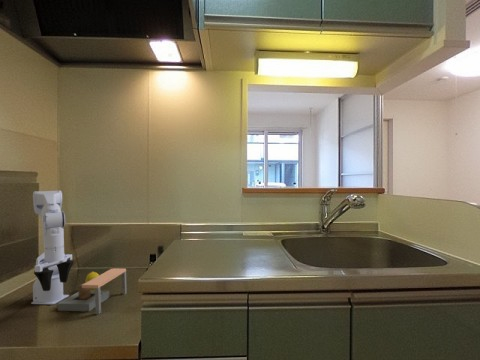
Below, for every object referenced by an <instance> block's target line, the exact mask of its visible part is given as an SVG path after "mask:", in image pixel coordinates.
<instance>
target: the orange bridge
mask: <svg viewBox="0 0 480 360" xmlns="http://www.w3.org/2000/svg"><path fill="white" fill-rule="evenodd" d="M119 276H121V293H122V294H121V295H127V293H128V292H127V290H128V289H127V269H126V268H119V267H118V268H115V267H114V268H110V269H108V270H107V271H105V272H104V273H101V274H99V276H97V277H96V278H94V279H92V280H90V281H88V282H86V283H85V282H84V283H85V284H83V283H82V284H83V285H82V288H95V305H96V307H95V315H101V314H102V303H101V291H102V290H101V288H102V287H103V286H104V285H106V284H107V283H109V282H111V281H113V280H114V279H116V278H118V277H119ZM100 313H101V314H100Z"/></svg>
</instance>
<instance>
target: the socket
mask: <svg viewBox="0 0 480 360" xmlns="http://www.w3.org/2000/svg"><path fill="white" fill-rule="evenodd" d="M108 298H110V290H101V304H102V303H103V302H104V301H107V300H108ZM93 309H96V305H95V290H91V298H89V299H88V300H79V297H78V291H77V292H75V293H74V294H72V295H71V296H70V295H69V296H68V297H66V298H65V299H63V300H61V301H59V302H57V311H58V312H59V311H61V312H62V311H64V312H90V311H92V310H93Z"/></svg>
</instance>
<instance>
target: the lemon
mask: <svg viewBox="0 0 480 360" xmlns="http://www.w3.org/2000/svg"><path fill="white" fill-rule="evenodd" d="M99 275H100V274H99V273H97V272H96V271H91V272H89V273H88V274H87V275H86V276H85V279H84V281H85V282H84V283H86V282H88V281H90V280H92V279H94V278H96V277H97V276H99ZM91 290H95V288H91Z"/></svg>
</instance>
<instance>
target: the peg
mask: <svg viewBox="0 0 480 360" xmlns="http://www.w3.org/2000/svg"><path fill="white" fill-rule="evenodd" d="M83 284H85V282H84V283H80V284H78V285H77V288H78V289H77V290H78V291H77V292H78V297H79V300H88V299H89V298H91V288H82V285H83Z"/></svg>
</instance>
